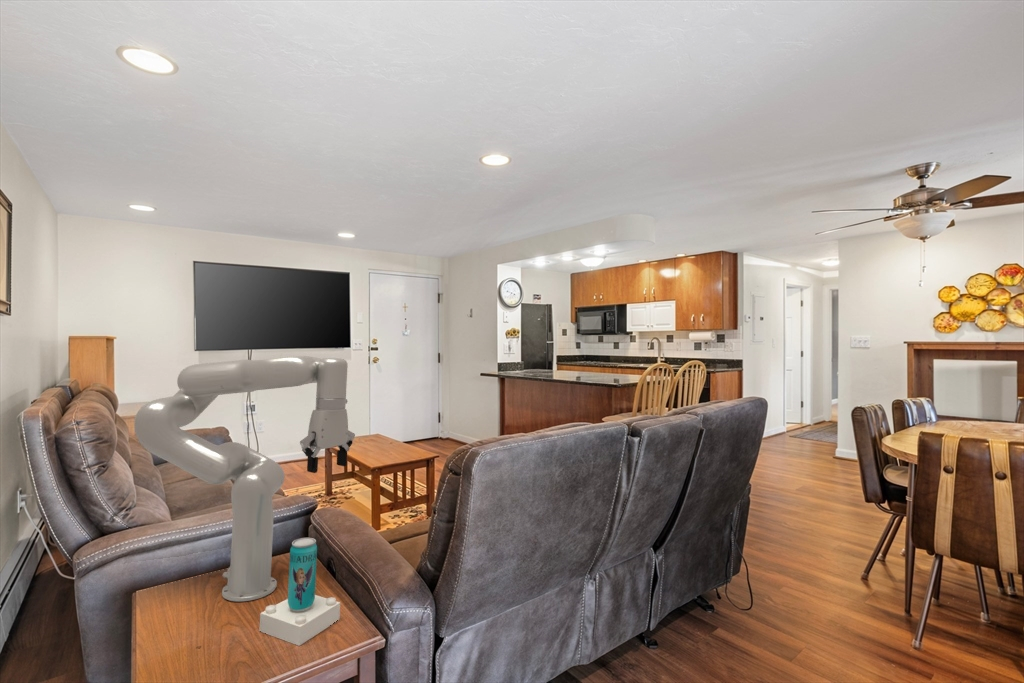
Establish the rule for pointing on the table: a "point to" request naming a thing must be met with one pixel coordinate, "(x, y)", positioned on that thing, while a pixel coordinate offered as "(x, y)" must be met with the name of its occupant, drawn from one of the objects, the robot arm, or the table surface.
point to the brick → (299, 620)
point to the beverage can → (302, 574)
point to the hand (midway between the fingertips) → (327, 468)
